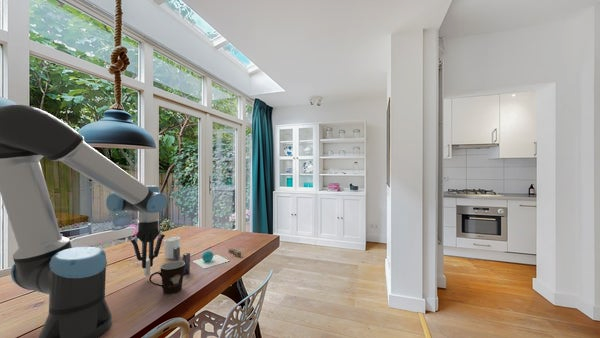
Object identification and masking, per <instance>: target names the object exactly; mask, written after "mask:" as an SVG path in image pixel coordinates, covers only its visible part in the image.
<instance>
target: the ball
mask: <svg viewBox="0 0 600 338" xmlns="http://www.w3.org/2000/svg"><path fill="white" fill-rule="evenodd" d="M213 256H214V253H213V252H212V251H211V250H206V251H204V252H203V253H202V255H201V259H203V261H205V262H209V261H211V260H212V258H213Z"/></svg>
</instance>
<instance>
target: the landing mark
mask: <svg viewBox="0 0 600 338" xmlns="http://www.w3.org/2000/svg"><path fill="white" fill-rule="evenodd" d="M228 261H229V262H230V259H227V258H225V257H223V256H221V255H219V254H215V255H214V254H213V258H212V260H211V261H209V262H205V261H203V259H202V258H199V259H196V260H192V262H193V264H195V265H197V266H198V267H200V268H202V269H203V270H205V269H208V268H211V267H214V266H215V267H216V266H218V265H222V264H225V262H226V263H228Z"/></svg>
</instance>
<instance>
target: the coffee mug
mask: <svg viewBox="0 0 600 338" xmlns="http://www.w3.org/2000/svg"><path fill="white" fill-rule="evenodd" d="M184 268H185V262H184V261H183V260H180V261H173V260H172V261H168V262H165V263H163V264H161V265H160V268H159V269H160V271H157V272H156V271H155V272H153V273H151V274H150V275H149V277H148V278H149V282H150V284H152V285H154V286H157V287H161V288H162V293H163V294H164V295H173V294H177V293H179V292H181V291H182V290H183V289H182V288H183V281H184V276H185V275H184ZM155 275H159V277H161V283H162V284H160V283H156V282H154V281H152V277H153V276H155Z"/></svg>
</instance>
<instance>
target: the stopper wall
mask: <svg viewBox="0 0 600 338" xmlns="http://www.w3.org/2000/svg"><path fill="white" fill-rule="evenodd" d="M229 253H231V254H233V255H232V256H234V255H235V256H234V257H236V256H237V257H236V258H240V257H239V256H241V257H242V251H240V250H237V249H235V248H228V254H229ZM231 254H230V255H231Z"/></svg>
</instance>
